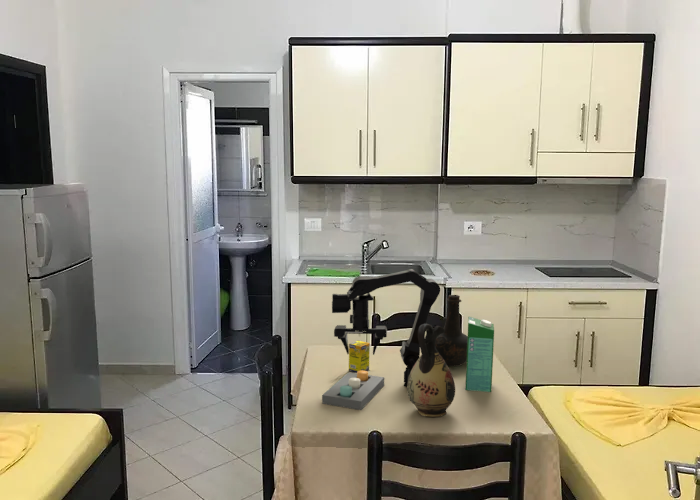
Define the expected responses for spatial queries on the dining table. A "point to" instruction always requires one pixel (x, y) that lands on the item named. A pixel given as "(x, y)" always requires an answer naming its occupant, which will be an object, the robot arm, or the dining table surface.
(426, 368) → the ceramic jug
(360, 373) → the orange button
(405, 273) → the robot arm
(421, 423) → the dining table surface
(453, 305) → the glass bottle
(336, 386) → the console
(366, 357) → the supplement box
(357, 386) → the cream button
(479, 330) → the milk carton
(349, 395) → the teal button
